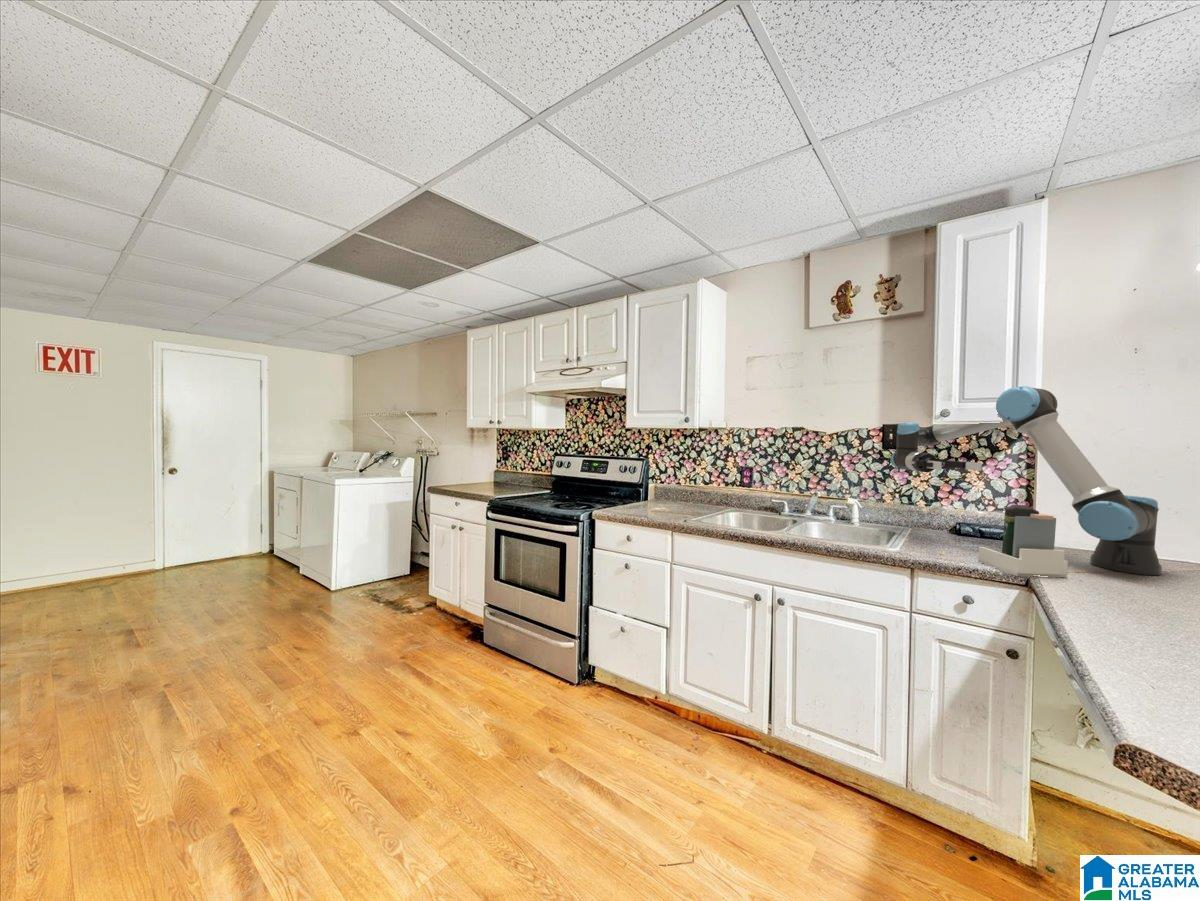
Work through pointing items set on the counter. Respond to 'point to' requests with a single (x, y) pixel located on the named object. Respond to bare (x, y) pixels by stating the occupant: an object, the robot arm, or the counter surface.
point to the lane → (1027, 562)
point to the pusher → (1034, 532)
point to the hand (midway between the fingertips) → (960, 466)
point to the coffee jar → (1009, 525)
